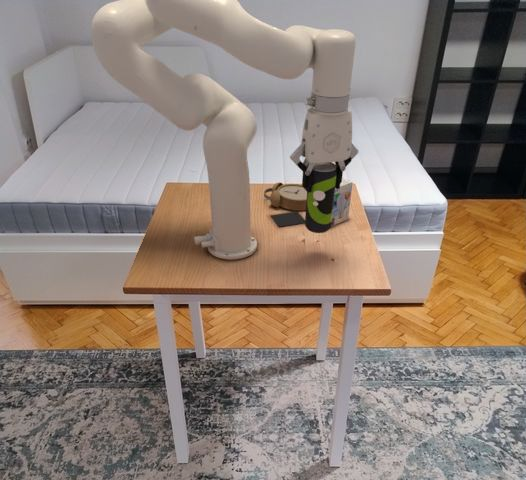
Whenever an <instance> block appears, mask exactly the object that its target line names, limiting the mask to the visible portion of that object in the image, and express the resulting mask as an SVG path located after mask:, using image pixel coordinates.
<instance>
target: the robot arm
mask: <svg viewBox="0 0 526 480" xmlns="http://www.w3.org/2000/svg"><path fill="white" fill-rule="evenodd" d="M173 28H174V29H175V30H178V31H181V32H183V33H185V34H188V35H191V36H194V37H195V38H198V39H201V40H203V41H206V42H208V43H211V44H213V45H215V46H217V47H219V48H221V49H222V50H223V51H224V52H226V53H227V54H229V55H231V56H232V57H234V59H237V60H238V61H240V62H241V63H243V64H244V65H246V66H248V67H251V68H253V69H255V70H258V71H260V72H263V73H266V74H268V75H270V76H273V77H275V78H278V79H282V80H288V81H289V80H295V79H297V78H299V77H301V76H303V74H304V73H305V72H306V71H307V69H312V70H313V72H312V83H311V92H310V96H309V97H306V98H305V99H304V105H305V106H309V107H310V108H308V109H307V111H306V115H305V119H304V123H303V128H302V133H301V141H300V145H298V147H297V148H296V149H295V150H294V151H293V152H292V153H291V154H290V156H289V159H290V160H291V161H292V162H293V163H294V164H295V166H297V167H298V168H299V169H300V171H302V179H301V185H302V186H303V188H304V189H305V190H306V191H307V192H308V193H310V192H311V191H312V179H313V176H312V174H311V171H312V169H313V167H314V165H315V164H320V163H329V162H332V163H334V164H335V165H336V170H337V175H336V185H335V188H336V189H340V183H341V182H342V178H343V174H344V172H345V171H346V168H347V166H348V165H349V164H350V163H351V162H352V160H353V159H354V158H355V157H357V155H358V154H359V149H358V148H357V147H356V146H355V145H354V144H353V114H352V109H351V108H349V101H350V91H351V84H352V76H353V69H354V68H353V66H354V60H355V51H356V36H355V34H354V33H353V32H351V31H349V30H346V29H338V28H337V29H336V28H334V29H333V28H332V29H319V28H314V27H311V26H306V25H300V24H296V25H295V24H294V25H292V26H289V27H288V28H286V29H285V30H283V29H280V28H279V27H275V26H273V25H271V24H268V23H266V22H263V21H261V20H260V19H257V18H256V17H254V16H253V15H251V14H250V13H248V12H247V11H246V10H245V9H244V8H243V6H242V4H241V3H240V1H238V0H115V1H111V2H108V3H106V4H104V5H103V6H101V7H100V8H99V9H98V10H97V11H96V13H95V14H94V16H93V18H92V20H91V27H90V38H91V43H92V46H93V50H94V53H95V55H96V57H97V60H98V61H99V64H100V65H101V66H102V68H103V69H104V70H105V72H106V73H107V74H108V75H109V76H111V78H112V79H113V80H115V81H116V82H117V83H118V84H120V85H121V86H122V87H124V88H125V89H127V90H128V91H129V92H131V93H132V94H134V95H135V96H137V98H139V99H140V100H142V101H143V102H144V103H146V104H147V105H148V106H149V107H150V108H152V109H153V110H155V111H156V112H157V113H158V114H160V115H161V116H162V117H164V118H165V119H167V120H168V121H169V122H170V123H171V124H173V125H174V126H176V127H177V128H179V129H180V130H183V131H193V130H195V129H197V128H199V127H200V126H201V125H202V124H203V125H204V126H205V127H206V128H205V131H204V134H203V138H202V150H203V155H204V156H203V157H204V160H205V165H206V171H207V180H208V190H209V206H210V215H211V228H210V229H209V233H206V234H205V235H197V236H194V237H193V240H194V244H195V245H196V246H197V245H200V246H201V248H207V251H208V252H209V253H210V254H211V255H212V256H213V257H216V258H218V259H222V260H232V261H233V260H241V259H245V258H247V257H249V256H252V255H253V254H254V253H255V252H256V251H257V248H258V241H257V239H256V238H255V237H254V236H252V227H251V226H252V225H251V224H252V223H251V188H250V187H251V186H250V185H251V183H250V181H251V179H250V169H249V163H248V151H249V150H248V149H249V147H250V146H251V144H252V143H253V141H254V139H255V137H256V135H257V130H258V123H257V120H256V117H255V115H254V113H253V112H252V110H250V108H249V107H247V105H246V104H244V103H243V102H242V101H241V100H239V99H238V98H237V97H236V96H234V95H233V94H232V93H230V92H229V91H228V90H227V89H225V88H224V87H223V86H222V85H221V84H219V83H218V82H217V81H215V80H214V79H213V78H211V77H209V76H207V75H206V74H202V73H200V72H199V73H197V72H192V73H187V74H186V75H184V76H181V75H179V74H178V73H177V72H175V71H173V69H171V68H169V67H168V66H167V65H166V64H165V63H163V62H162V61H161V60H159V59H158V58H156V57H154V56H152V55H150V54H149V53H146V52H145V51H143V50H142V49H141V48H140V47H141V46H143V45H145V44H148V43H149V42H151V41H153V40H154V39H156V38H158V37H159V36H161V35H163V34H165V33H166V32H168V31H170V30H172V29H173ZM301 157H303V158H304V160H303V161H302V160H300V158H301Z"/></svg>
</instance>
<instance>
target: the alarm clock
mask: <svg viewBox="0 0 526 480" xmlns="http://www.w3.org/2000/svg"><path fill="white" fill-rule="evenodd" d="M269 192H271V193H270V195H267V193H269ZM263 197H264V198H265V199H267V200H268V201H270V204H271V205H272V207H274V208H280V207H281V208H282V209H287V210H291V211H306V201H307V191H306V190H305V189H304V188H303V186H302V184H299V183H285V184H283V182H279V181H278V182H276V183H275V184H273V186H272V187H270V188H266V189H264V190H263Z"/></svg>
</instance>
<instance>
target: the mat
mask: <svg viewBox="0 0 526 480" xmlns="http://www.w3.org/2000/svg"><path fill="white" fill-rule="evenodd" d="M270 218H271V219H272V220H273V221H274V223H275V224H276V225H277V227H278V228H284V227H289V226H297V225H302V224H305V218H304V217H303V216H302V215H301V214H300V213H299V211H298V210H295V211H290V212H284V213H277V214H272V215H270Z"/></svg>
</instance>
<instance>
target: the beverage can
mask: <svg viewBox="0 0 526 480" xmlns="http://www.w3.org/2000/svg"><path fill="white" fill-rule="evenodd" d="M311 174H312V176H313V179H312V191H311V192H310V193H308V192H307V201H306V210H305V217H304V220H305V223H304V226H305V228H306V229H307V230H308V231H309V232H311V233H314V234H323V233H326V232H328V231H329V230H330V229H331V227H332V226H331V222H332V213H333V203H334V194H335V185H336V175H337V170H336V165H335V162H329V163H320V164H315V165H314V167H313V169H312V171H311Z"/></svg>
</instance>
